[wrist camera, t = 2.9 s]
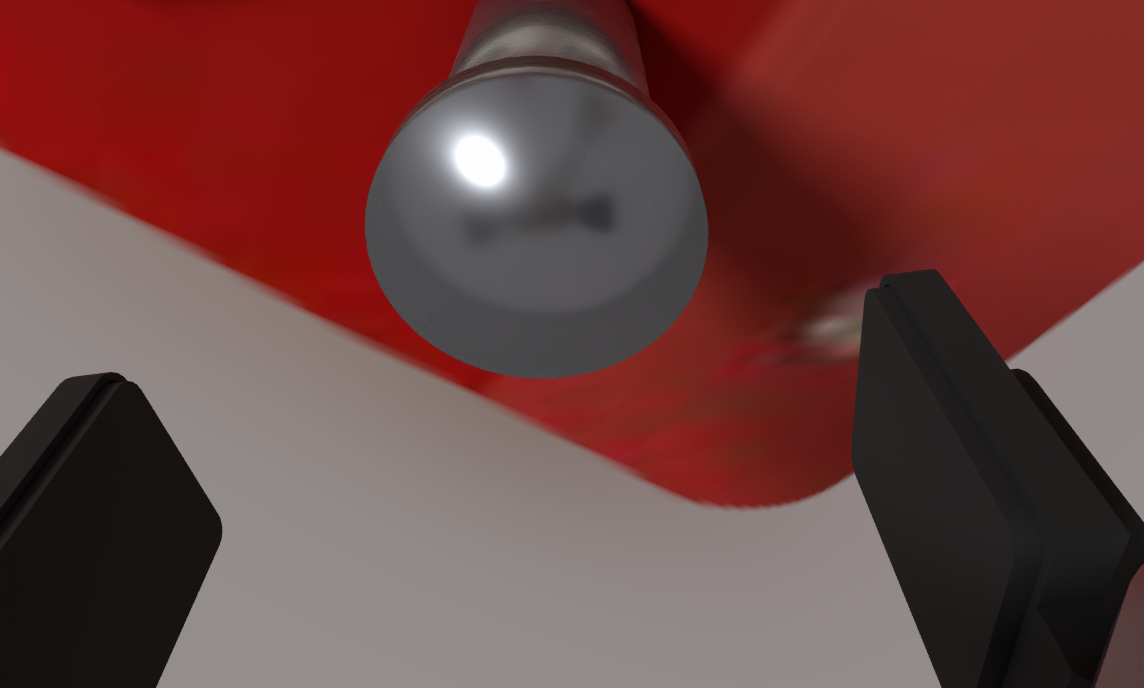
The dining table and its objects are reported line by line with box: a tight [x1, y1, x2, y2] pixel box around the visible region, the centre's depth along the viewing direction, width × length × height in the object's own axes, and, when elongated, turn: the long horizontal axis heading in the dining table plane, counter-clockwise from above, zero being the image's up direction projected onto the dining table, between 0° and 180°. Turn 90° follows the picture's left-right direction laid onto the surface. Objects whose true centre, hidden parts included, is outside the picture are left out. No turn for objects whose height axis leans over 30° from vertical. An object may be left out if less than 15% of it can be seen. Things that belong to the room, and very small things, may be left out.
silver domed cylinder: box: [365, 0, 708, 379], centre depth 16 cm, size 5×5×10 cm
